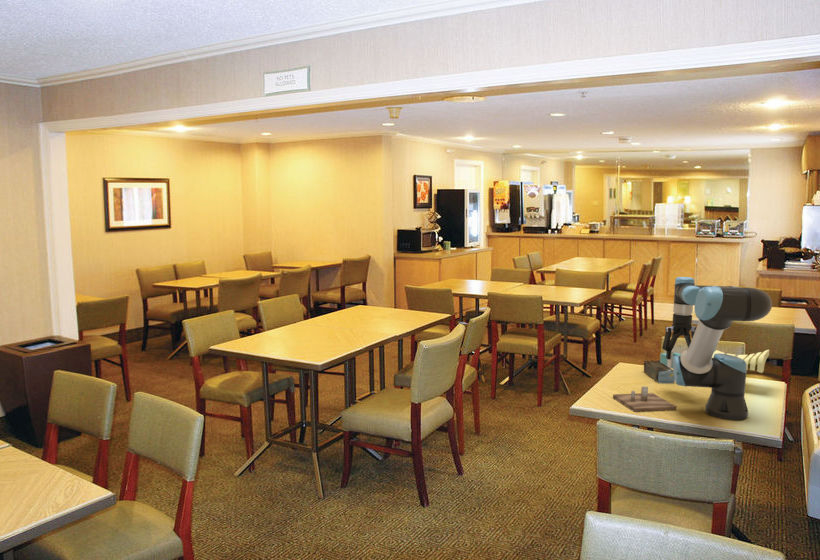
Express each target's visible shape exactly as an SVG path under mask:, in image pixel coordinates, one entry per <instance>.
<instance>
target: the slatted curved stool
mask: <svg viewBox="0 0 820 560" xmlns="http://www.w3.org/2000/svg"><path fill="white" fill-rule="evenodd" d="M716 353H717V354H718V353H721V354H727V355H732V356H735V357H738V358H741V359H743V360H744V361H745V362H746V370H747V371H748V370H749V371H754V372H755V371H756V372H758V373H760V374H763V373H764V370H765V364H766V361H767V359H768V357H769V356H770V349H766V350H764V351H759V352H756V353H750V354H749V355H748V354H738V355H737V354H733V353H725V352H723V351H720V350H717V349H715V351H714V353H713V355H712V358H714V357H713V356H714V354H716Z"/></svg>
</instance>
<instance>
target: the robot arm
mask: <svg viewBox="0 0 820 560" xmlns="http://www.w3.org/2000/svg"><path fill="white" fill-rule="evenodd" d="M674 281H675V282H674V285H673V286H674V292H673V293H674V295H673V314H672V324H671V326H669V327H668V326H665V334H664V339H663V342H662V347H661V348H662V350H663V351H665V353H666V358H667V359H668V361H667V365H666V366H668V367H669V368H671V367H672V366H673V368H672V370H673V374H674V383H675V384H676V385H677V386H679V387H680V386H681V387H689V388H690V387H692V388H693V387H695V388H711V392H710V395H709V397H708V400H707V402H706V403H705V406H704V412H705V413H706V414H707V415H710V416H711V417H714V418H717V419H722V420H728V421H743V420H746V419H748V417H749V416H748V415H749V410H748V407H747V402H746V398H745V393H746V382H747V380H746V379H747V374H748V372H747V371H748V370H746V362H745V361H744V360H743V359H741V358H738V357H737V356H736V357H735V356H732V355H727V353H725V354H721V353H718V354H717V353H716V354H714V356H713V357H714V358H712V355H713V353H714V352H715V351H716V350H717V346H718V344H719V343H720V342H719V341H720V339H721V337H722V335H723V333H724V331H725V330H727V329H729V328H731V326H732V325H733V322H754V321H755V322H756V321H758V320H761V319H763V318H765V317H766V316H768V314H770V312H771V311H772V308H773V300H772V298H771V296H770V295H769V294H768V293H767V292H765V290H761V289H758V288H755V287H743V286H741V287H740V286H734V285H727V286H726V285H700V284H699V285H698V284H697V285H696V284H695V279H694V278H693V277H688V276H677V277H675V280H674ZM693 309H694V311H693ZM693 313H694V314H695V316H696V318H697V319H698V324H697V325H696V326H695V325H692V324H693V323H692V322H693V315H692V314H693ZM681 336H683V337H684V339H685V342H686V345H687V349H686V350H683V352H682V353H680V354H681V356H675V357H674V358H673V353H674V352H673V350H674V347H675V344H676V343H677V340H678V339H679V338H680V337H681Z"/></svg>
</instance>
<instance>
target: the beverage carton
mask: <svg viewBox="0 0 820 560" xmlns="http://www.w3.org/2000/svg"><path fill="white" fill-rule="evenodd" d="M643 372H644V374H646V375H647V376H648V377H649V378H651V379H652V380H653V379H654V380H653V381H654V382H656V381H657V382H658V384H675V380H674V374H673V368H671V367H669V366H667V365H665V364H663V363H661V362H660V360H644V361H643ZM657 382H656V383H657Z"/></svg>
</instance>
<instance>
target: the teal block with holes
mask: <svg viewBox="0 0 820 560" xmlns="http://www.w3.org/2000/svg"><path fill="white" fill-rule="evenodd" d="M681 354H682V353H679V352H673V358H674V357H675V356H681ZM659 358H660V360H659V361H660V362H661V363H663V364H665V365H666V366H667V361H668V359H667V358H666V352H664V353H660V357H659ZM670 369H673V366H672V367H670Z"/></svg>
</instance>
